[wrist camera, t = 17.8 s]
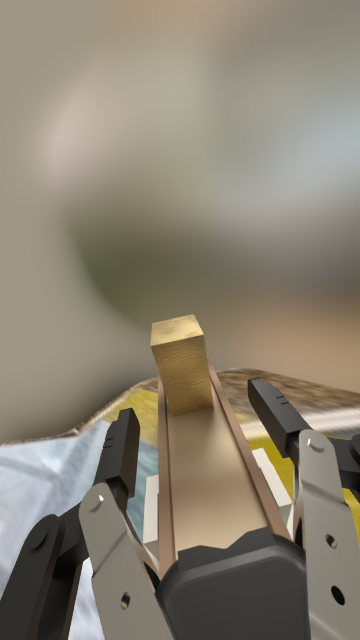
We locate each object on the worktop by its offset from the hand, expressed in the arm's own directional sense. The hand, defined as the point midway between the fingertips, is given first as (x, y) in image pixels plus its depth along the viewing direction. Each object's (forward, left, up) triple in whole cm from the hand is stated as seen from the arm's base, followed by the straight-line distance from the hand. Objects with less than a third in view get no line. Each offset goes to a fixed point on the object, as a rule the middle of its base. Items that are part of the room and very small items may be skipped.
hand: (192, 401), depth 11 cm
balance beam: (+2, -1, -10) cm, 10 cm away
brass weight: (-7, +3, -8) cm, 11 cm away
